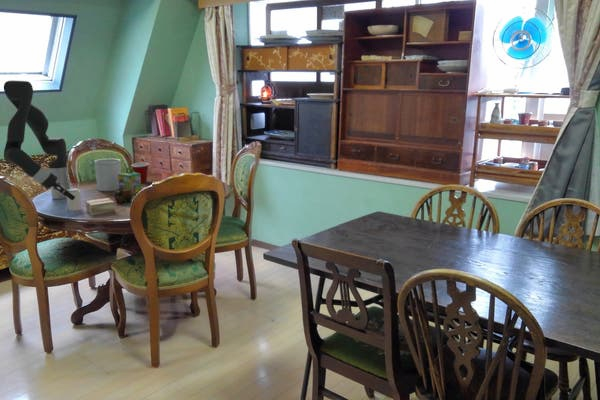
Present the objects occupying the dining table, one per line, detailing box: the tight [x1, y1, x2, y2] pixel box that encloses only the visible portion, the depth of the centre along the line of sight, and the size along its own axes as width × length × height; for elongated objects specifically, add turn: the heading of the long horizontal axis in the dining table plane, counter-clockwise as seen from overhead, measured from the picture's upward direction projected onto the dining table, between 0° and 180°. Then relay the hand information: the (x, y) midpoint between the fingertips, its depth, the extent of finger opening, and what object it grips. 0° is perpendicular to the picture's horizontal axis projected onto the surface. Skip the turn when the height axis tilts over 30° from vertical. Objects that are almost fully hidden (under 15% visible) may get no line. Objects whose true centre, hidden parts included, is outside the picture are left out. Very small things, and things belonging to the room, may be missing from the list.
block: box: [85, 197, 116, 216], centre depth 250 cm, size 11×11×5 cm
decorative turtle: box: [113, 188, 134, 205], centre depth 268 cm, size 10×15×8 cm, turn 47°
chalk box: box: [118, 167, 142, 195], centre depth 288 cm, size 9×9×15 cm
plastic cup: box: [131, 161, 150, 183], centre depth 319 cm, size 11×11×12 cm
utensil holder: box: [94, 157, 122, 192], centre depth 299 cm, size 15×15×18 cm
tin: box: [66, 188, 83, 212], centre depth 253 cm, size 6×6×10 cm
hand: (72, 197), depth 252 cm, fingers open, 8 cm apart
